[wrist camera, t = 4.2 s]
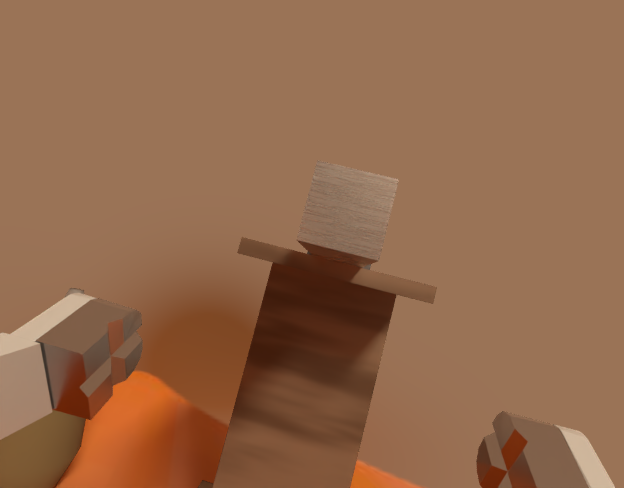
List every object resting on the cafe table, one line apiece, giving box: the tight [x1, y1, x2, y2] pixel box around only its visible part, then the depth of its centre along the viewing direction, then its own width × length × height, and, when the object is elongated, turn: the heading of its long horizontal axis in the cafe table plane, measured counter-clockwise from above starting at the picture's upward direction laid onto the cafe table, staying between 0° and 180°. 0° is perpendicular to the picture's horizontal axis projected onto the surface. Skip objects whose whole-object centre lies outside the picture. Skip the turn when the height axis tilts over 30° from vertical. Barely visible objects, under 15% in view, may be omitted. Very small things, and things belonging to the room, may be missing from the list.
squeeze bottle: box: [0, 288, 86, 488], centre depth 33 cm, size 8×8×18 cm
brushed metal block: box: [297, 161, 399, 268], centre depth 26 cm, size 26×3×3 cm, turn 176°
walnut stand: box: [198, 237, 437, 488], centre depth 30 cm, size 18×16×28 cm
